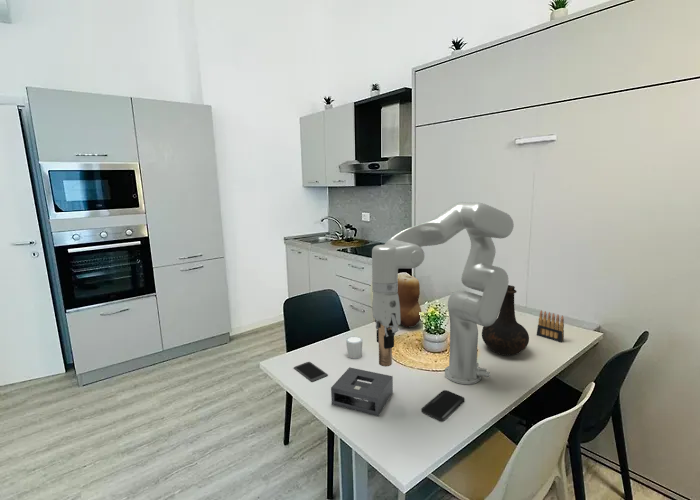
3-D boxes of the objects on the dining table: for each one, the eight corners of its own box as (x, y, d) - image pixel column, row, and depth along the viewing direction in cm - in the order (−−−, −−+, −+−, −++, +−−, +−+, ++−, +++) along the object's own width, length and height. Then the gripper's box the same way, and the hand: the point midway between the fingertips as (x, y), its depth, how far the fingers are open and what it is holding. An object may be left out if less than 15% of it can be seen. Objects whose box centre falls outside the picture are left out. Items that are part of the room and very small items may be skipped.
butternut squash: (426, 324, 180) (427, 275, 176) (412, 333, 170) (412, 281, 166) (403, 318, 189) (403, 271, 185) (388, 326, 179) (387, 277, 175)
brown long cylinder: (388, 359, 114) (387, 310, 112) (394, 364, 111) (394, 314, 108) (375, 362, 113) (374, 313, 110) (381, 367, 109) (380, 317, 106)
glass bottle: (478, 340, 161) (480, 279, 156) (521, 342, 158) (525, 280, 153) (484, 359, 144) (487, 291, 139) (533, 362, 141) (538, 292, 136)
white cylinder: (361, 359, 146) (361, 343, 145) (344, 358, 148) (344, 342, 146) (364, 352, 153) (363, 336, 151) (348, 351, 154) (347, 335, 153)
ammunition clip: (536, 335, 165) (538, 310, 163) (538, 334, 166) (540, 309, 164) (561, 342, 157) (563, 316, 154) (563, 341, 158) (565, 315, 156)
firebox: (392, 392, 123) (392, 375, 122) (378, 416, 110) (378, 398, 109) (349, 382, 129) (349, 366, 128) (331, 404, 117) (331, 387, 116)
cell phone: (312, 383, 130) (311, 381, 130) (293, 368, 141) (292, 367, 141) (328, 376, 135) (328, 374, 135) (309, 362, 146) (309, 361, 145)
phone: (466, 398, 117) (442, 420, 107) (465, 401, 117) (442, 423, 107) (444, 389, 123) (419, 409, 112) (443, 392, 123) (419, 412, 112)
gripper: (411, 292, 101) (410, 353, 105) (383, 278, 117) (383, 332, 120) (387, 295, 99) (387, 358, 102) (361, 281, 114) (362, 336, 117)
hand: (385, 344), depth 111 cm, fingers closed on brown long cylinder, 4 cm apart
